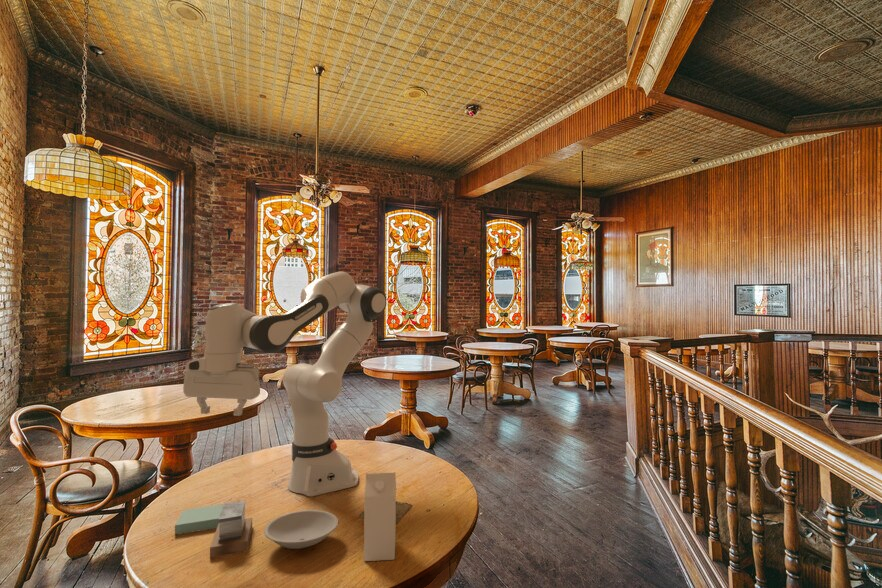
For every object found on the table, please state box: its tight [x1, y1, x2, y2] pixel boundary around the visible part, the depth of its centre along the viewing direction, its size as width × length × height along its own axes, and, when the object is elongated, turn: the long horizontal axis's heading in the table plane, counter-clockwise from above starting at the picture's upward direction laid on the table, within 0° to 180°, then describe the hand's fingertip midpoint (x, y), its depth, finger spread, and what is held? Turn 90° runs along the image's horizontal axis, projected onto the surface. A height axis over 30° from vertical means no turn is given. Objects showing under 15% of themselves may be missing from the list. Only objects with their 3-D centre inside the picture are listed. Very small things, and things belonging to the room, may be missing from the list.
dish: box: [263, 509, 339, 550], centre depth 101 cm, size 18×14×5 cm
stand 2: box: [209, 517, 253, 559], centre depth 102 cm, size 8×11×2 cm
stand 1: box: [174, 503, 224, 535], centre depth 110 cm, size 11×8×2 cm
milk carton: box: [363, 472, 397, 562], centre depth 98 cm, size 7×7×19 cm
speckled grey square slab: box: [357, 500, 413, 525], centre depth 117 cm, size 12×12×1 cm
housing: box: [218, 499, 247, 543], centre depth 102 cm, size 5×8×6 cm, turn 19°
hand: (221, 414), depth 110 cm, fingers open, 8 cm apart
